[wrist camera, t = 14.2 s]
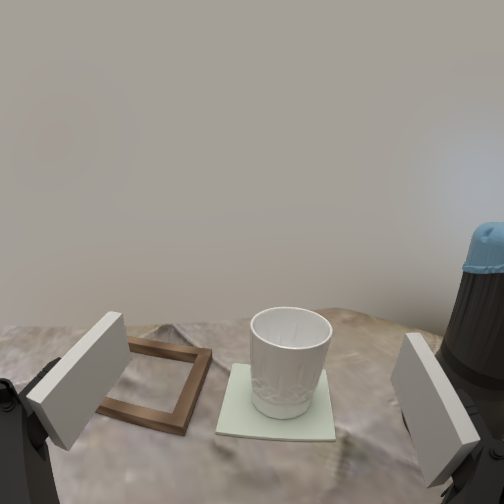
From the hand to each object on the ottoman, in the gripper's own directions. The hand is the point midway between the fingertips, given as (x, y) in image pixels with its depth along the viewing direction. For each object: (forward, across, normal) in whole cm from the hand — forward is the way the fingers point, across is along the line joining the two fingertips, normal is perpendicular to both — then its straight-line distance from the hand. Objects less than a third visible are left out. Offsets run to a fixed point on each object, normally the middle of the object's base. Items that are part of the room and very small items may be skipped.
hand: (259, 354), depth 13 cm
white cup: (+14, +2, -17) cm, 22 cm away
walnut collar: (+14, -14, -17) cm, 26 cm away
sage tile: (+14, +2, -17) cm, 22 cm away
